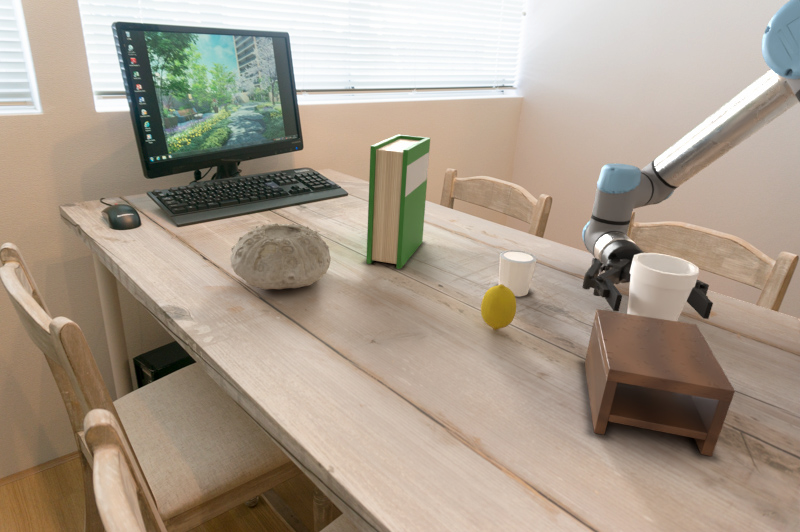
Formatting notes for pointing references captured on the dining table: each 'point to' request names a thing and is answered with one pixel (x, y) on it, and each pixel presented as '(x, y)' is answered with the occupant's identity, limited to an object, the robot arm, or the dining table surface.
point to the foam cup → (660, 285)
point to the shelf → (656, 378)
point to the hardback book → (397, 198)
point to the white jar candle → (516, 270)
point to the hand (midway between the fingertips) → (663, 307)
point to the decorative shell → (280, 256)
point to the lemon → (498, 306)
